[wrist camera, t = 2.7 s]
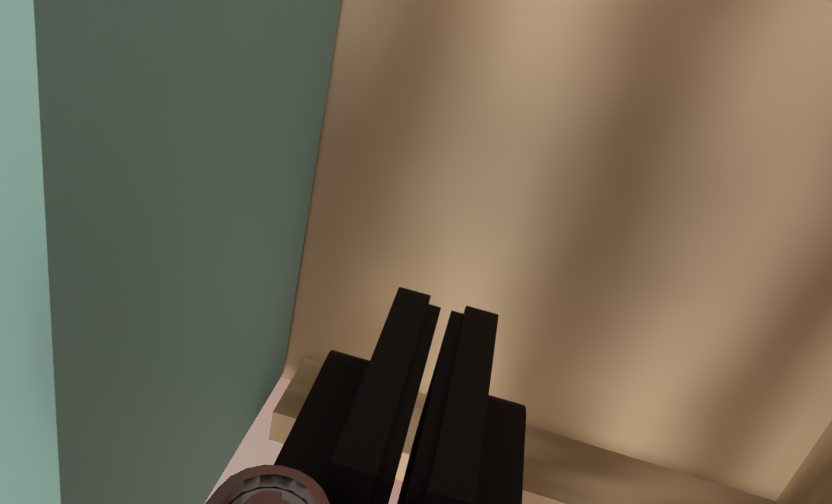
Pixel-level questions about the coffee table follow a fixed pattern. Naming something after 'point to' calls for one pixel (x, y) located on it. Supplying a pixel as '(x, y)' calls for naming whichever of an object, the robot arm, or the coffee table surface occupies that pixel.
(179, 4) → the panel
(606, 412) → the trailer bed
